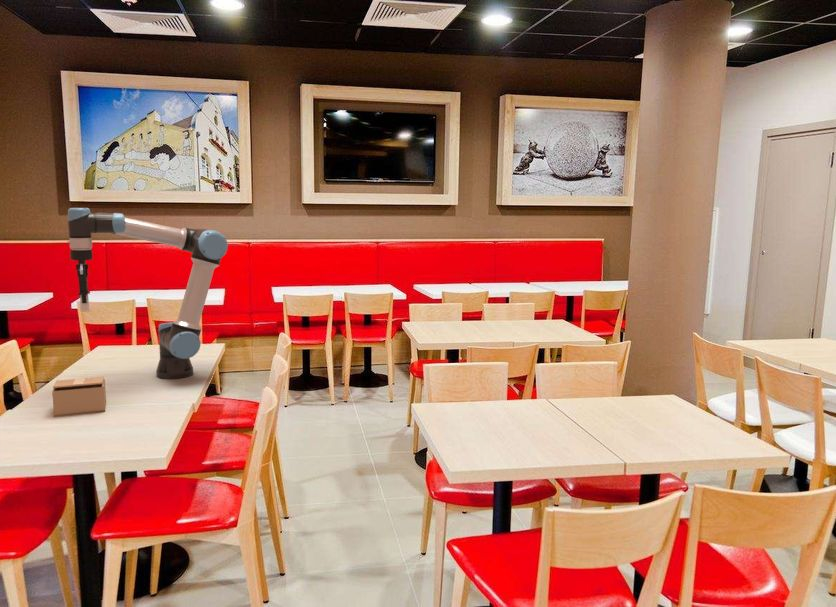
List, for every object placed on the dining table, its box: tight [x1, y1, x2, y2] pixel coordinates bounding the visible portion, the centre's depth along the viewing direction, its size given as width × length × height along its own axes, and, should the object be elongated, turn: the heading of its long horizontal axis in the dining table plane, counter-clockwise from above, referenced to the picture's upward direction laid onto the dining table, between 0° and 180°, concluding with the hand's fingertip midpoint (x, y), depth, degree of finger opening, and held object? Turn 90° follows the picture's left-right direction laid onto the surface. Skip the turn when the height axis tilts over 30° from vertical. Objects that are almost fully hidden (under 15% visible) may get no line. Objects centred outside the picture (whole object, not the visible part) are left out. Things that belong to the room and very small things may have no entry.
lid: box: [52, 376, 105, 389], centre depth 237 cm, size 15×12×1 cm
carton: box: [51, 378, 107, 418], centre depth 238 cm, size 16×12×9 cm
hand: (85, 311), depth 253 cm, fingers closed
